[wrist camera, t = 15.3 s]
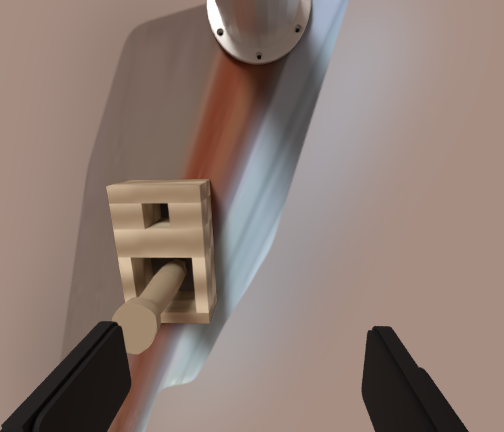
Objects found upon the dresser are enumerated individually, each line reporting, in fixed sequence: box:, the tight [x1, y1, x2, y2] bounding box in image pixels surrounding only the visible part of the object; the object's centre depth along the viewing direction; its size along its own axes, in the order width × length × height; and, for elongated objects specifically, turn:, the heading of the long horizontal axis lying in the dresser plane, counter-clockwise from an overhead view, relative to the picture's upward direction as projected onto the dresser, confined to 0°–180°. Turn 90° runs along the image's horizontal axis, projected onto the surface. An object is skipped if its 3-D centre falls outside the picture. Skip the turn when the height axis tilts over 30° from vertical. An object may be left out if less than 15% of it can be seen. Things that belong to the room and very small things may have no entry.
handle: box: [112, 258, 187, 354], centre depth 35 cm, size 5×6×15 cm
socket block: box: [106, 179, 217, 324], centre depth 39 cm, size 20×12×6 cm, turn 1°
